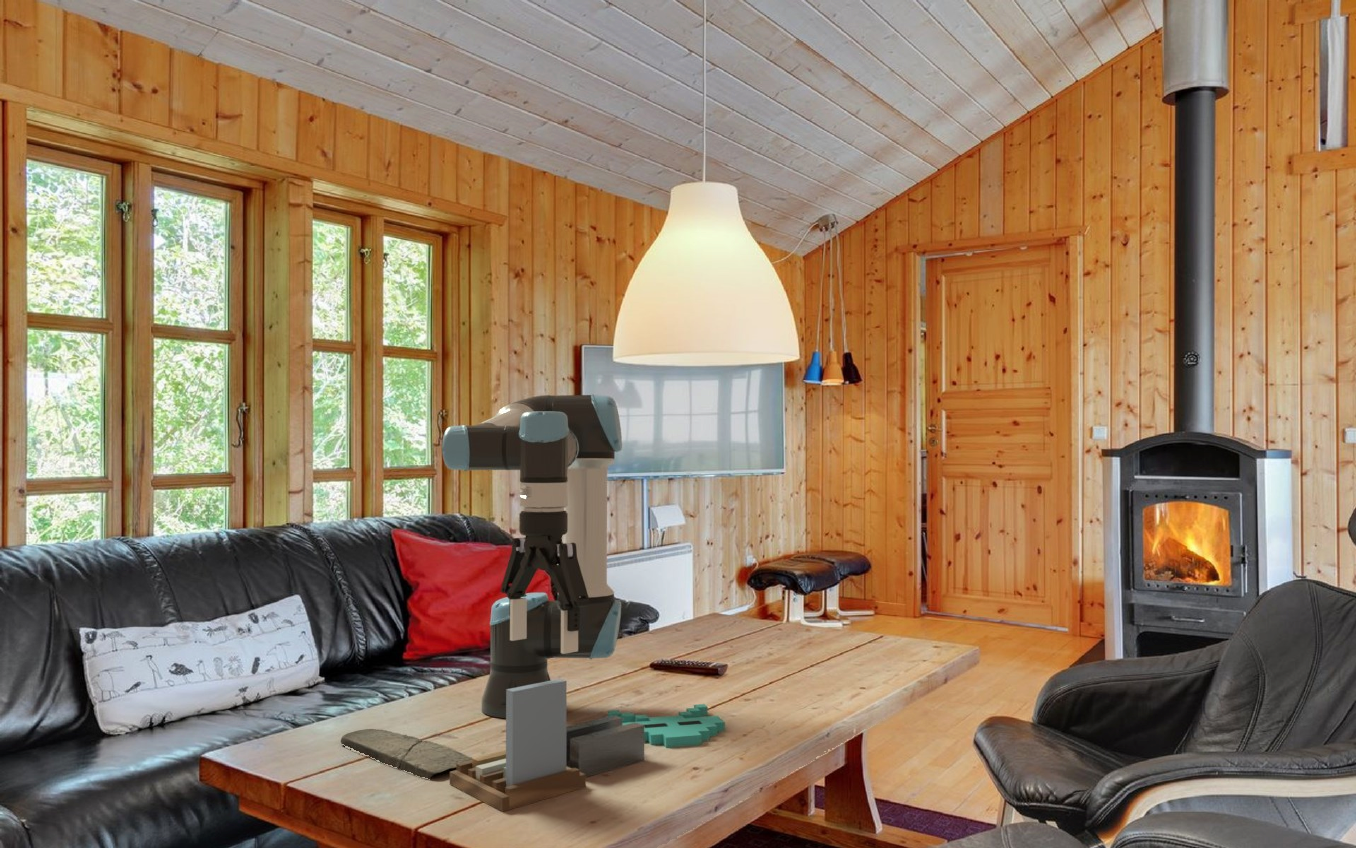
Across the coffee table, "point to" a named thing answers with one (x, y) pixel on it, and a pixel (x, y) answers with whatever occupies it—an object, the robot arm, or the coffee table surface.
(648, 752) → the coffee table surface
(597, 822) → the coffee table surface
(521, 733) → the tall sheet
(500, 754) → the offcut
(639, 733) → the holder
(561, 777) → the rack
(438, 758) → the stone slab
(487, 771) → the offcut
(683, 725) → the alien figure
